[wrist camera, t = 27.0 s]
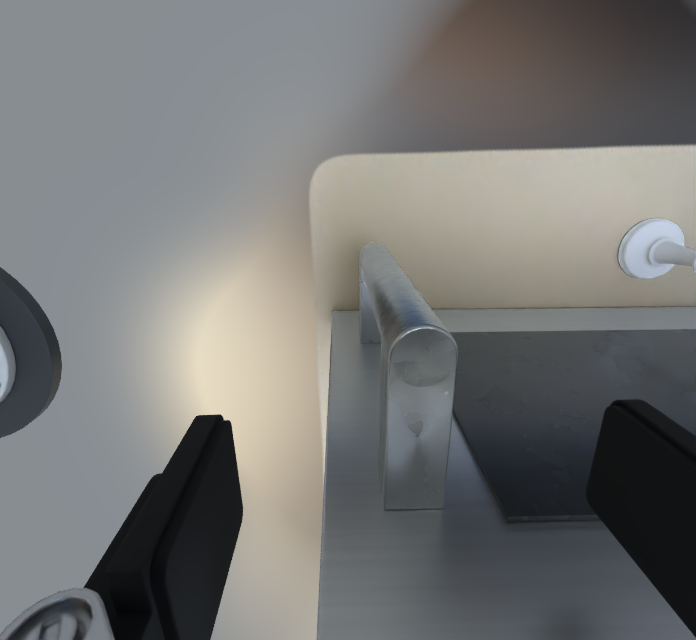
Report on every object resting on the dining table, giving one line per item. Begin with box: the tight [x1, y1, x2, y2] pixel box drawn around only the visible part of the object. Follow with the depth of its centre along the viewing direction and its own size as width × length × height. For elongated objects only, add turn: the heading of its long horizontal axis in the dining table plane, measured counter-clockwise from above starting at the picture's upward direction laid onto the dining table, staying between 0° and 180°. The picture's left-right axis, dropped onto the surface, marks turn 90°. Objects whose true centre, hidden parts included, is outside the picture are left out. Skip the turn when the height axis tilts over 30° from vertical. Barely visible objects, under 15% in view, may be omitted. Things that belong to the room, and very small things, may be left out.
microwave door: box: [317, 242, 696, 640], centre depth 20 cm, size 8×33×27 cm, turn 90°
